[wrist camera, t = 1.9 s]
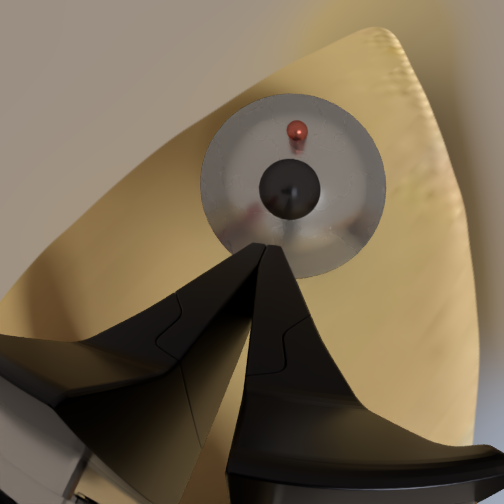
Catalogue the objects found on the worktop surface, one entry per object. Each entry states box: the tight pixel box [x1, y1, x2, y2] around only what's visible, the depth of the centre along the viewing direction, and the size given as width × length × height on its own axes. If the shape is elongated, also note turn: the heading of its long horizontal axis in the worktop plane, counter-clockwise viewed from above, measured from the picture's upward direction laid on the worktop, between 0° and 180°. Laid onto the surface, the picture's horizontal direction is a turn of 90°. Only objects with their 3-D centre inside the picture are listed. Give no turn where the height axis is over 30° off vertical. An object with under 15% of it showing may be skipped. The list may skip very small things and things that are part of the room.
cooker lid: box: [200, 94, 386, 278], centre depth 15 cm, size 10×10×3 cm
